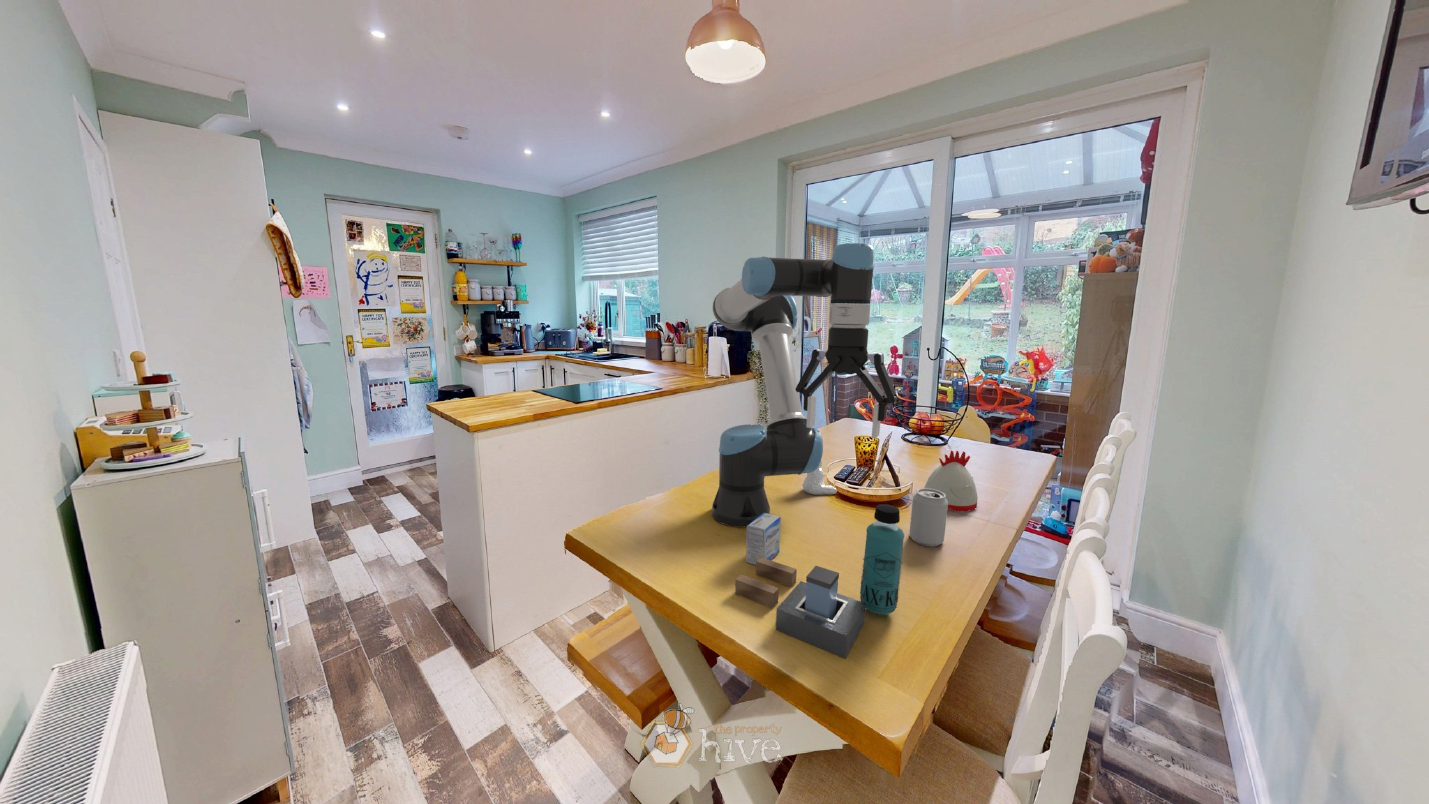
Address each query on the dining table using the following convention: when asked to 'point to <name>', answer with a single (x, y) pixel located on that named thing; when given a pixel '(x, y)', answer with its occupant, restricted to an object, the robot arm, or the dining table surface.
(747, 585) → the pair of wooden blocks
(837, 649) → the port
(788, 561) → the dining table surface
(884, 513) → the beverage bottle
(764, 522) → the medicine box
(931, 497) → the can
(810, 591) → the plug
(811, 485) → the seated beast figurine
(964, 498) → the red crested white hat
